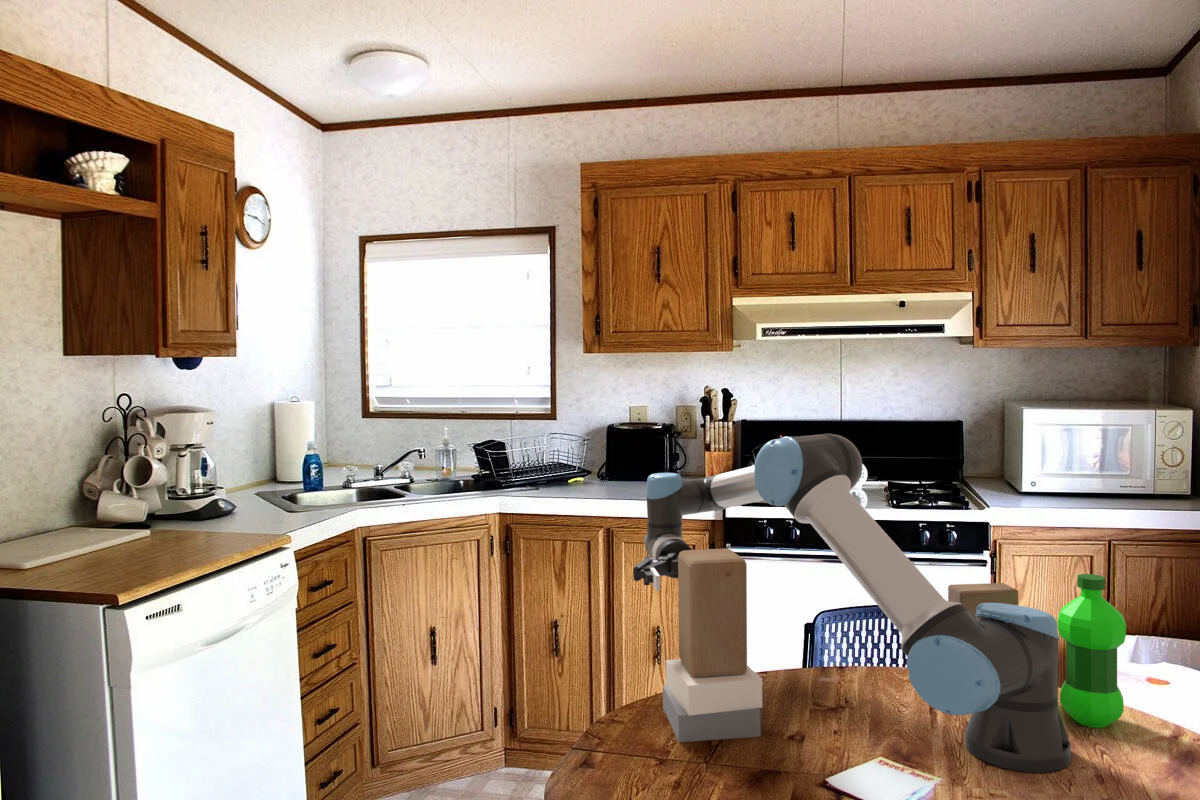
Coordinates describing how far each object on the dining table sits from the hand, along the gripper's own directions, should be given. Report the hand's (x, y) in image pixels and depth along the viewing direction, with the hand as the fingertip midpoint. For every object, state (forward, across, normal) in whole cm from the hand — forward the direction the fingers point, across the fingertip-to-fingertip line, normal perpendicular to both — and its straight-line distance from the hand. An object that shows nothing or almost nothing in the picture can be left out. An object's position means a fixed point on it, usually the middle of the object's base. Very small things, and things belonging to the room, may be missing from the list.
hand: (695, 581), depth 156 cm
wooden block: (+5, -2, -14) cm, 15 cm away
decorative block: (0, -54, -24) cm, 59 cm away
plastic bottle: (+15, -65, -24) cm, 71 cm away
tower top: (+6, -2, -19) cm, 20 cm away
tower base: (+5, -1, -24) cm, 25 cm away
